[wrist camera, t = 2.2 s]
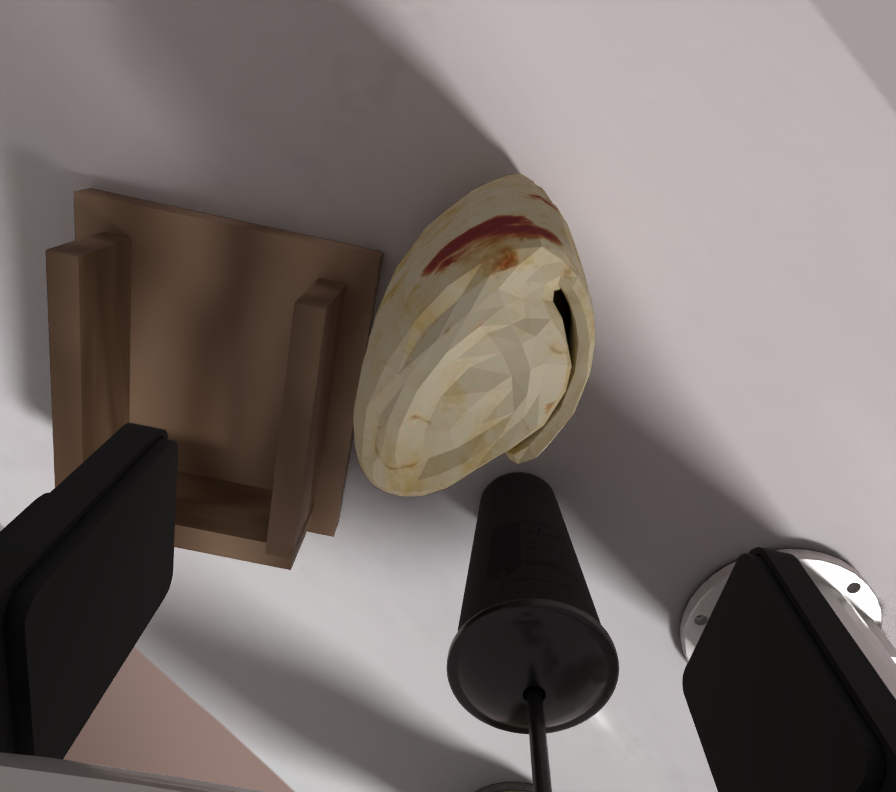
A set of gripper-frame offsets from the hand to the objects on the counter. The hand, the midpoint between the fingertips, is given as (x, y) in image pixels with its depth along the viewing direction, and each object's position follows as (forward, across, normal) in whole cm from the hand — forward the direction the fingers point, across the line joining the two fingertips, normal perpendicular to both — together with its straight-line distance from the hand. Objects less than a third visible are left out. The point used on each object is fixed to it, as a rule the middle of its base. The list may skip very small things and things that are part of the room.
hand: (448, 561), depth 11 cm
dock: (+27, +12, +10) cm, 32 cm away
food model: (+27, -1, 0) cm, 27 cm away
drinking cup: (+27, -7, +16) cm, 32 cm away
